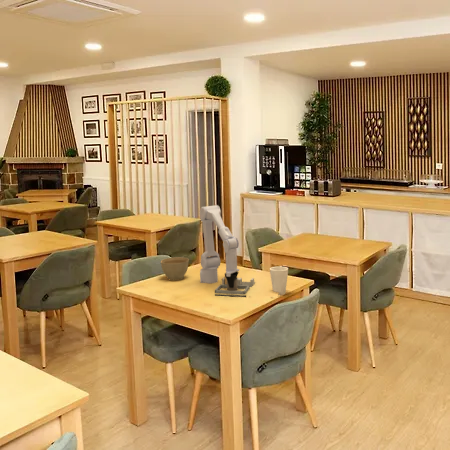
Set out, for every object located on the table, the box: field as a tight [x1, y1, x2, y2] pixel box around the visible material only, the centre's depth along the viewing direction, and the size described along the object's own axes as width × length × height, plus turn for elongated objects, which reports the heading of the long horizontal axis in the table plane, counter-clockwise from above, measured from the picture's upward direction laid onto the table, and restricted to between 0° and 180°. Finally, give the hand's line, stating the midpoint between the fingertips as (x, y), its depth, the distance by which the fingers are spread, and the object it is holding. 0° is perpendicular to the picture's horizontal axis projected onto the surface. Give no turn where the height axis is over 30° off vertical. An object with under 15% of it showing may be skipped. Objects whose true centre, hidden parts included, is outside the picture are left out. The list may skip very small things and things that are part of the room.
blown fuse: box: [226, 276, 239, 291], centre depth 291 cm, size 5×3×6 cm, turn 75°
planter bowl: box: [160, 256, 190, 281], centre depth 325 cm, size 16×16×11 cm
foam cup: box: [269, 266, 289, 296], centre depth 288 cm, size 10×9×13 cm
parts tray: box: [214, 284, 251, 298], centre depth 291 cm, size 16×11×3 cm
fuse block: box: [221, 276, 256, 288], centre depth 303 cm, size 10×17×4 cm, turn 75°
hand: (232, 286), depth 291 cm, fingers closed on blown fuse, 3 cm apart
